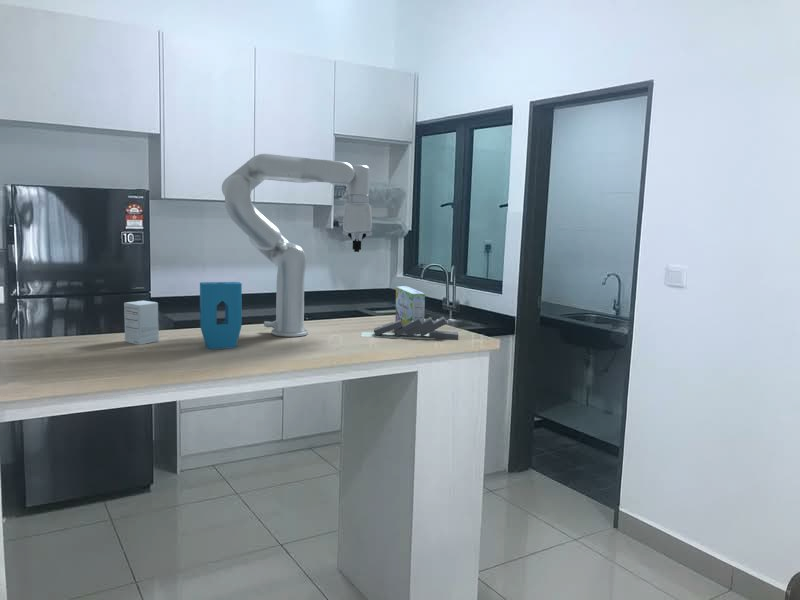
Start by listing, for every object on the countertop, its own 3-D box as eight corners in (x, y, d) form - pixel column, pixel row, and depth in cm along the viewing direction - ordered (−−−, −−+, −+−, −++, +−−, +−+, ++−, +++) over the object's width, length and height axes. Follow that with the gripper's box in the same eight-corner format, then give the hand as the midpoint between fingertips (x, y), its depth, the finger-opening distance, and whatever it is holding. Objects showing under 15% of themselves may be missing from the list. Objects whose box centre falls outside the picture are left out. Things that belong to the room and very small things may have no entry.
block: (202, 349, 192) (201, 284, 189) (199, 346, 196) (199, 282, 194) (242, 347, 197) (242, 283, 194) (238, 344, 201) (238, 281, 199)
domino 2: (393, 331, 220) (418, 318, 220) (393, 328, 225) (418, 315, 225) (396, 336, 221) (421, 324, 220) (396, 334, 226) (421, 321, 225)
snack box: (393, 323, 250) (395, 286, 248) (407, 323, 252) (408, 286, 250) (410, 333, 230) (412, 292, 228) (425, 333, 232) (426, 292, 230)
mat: (360, 337, 219) (360, 336, 219) (362, 333, 227) (362, 332, 227) (435, 340, 219) (435, 339, 219) (434, 335, 227) (434, 334, 227)
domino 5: (430, 331, 220) (458, 333, 220) (429, 328, 225) (457, 331, 225) (429, 337, 221) (458, 340, 221) (429, 335, 226) (456, 337, 226)
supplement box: (144, 338, 205) (143, 300, 203) (159, 341, 201) (158, 302, 199) (124, 342, 198) (123, 302, 197) (139, 345, 195) (138, 304, 193)
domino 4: (418, 330, 220) (443, 317, 220) (418, 328, 225) (443, 315, 224) (421, 336, 221) (446, 323, 220) (421, 334, 226) (446, 321, 225)
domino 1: (373, 329, 220) (400, 320, 220) (374, 327, 225) (400, 318, 225) (375, 336, 221) (402, 326, 220) (376, 333, 226) (402, 324, 225)
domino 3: (405, 331, 220) (430, 318, 220) (405, 328, 225) (430, 315, 224) (408, 337, 221) (433, 324, 220) (408, 334, 226) (433, 321, 225)
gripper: (336, 199, 221) (334, 251, 224) (378, 200, 221) (377, 253, 224) (338, 199, 229) (337, 250, 231) (379, 201, 229) (377, 251, 231)
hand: (356, 251), depth 227 cm, fingers closed
